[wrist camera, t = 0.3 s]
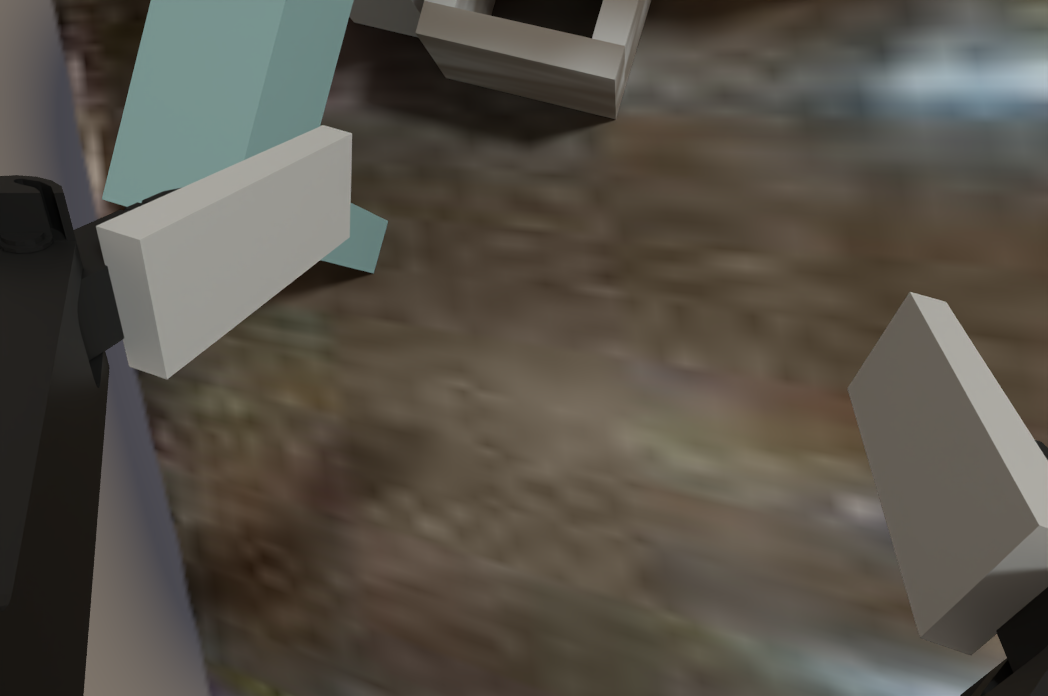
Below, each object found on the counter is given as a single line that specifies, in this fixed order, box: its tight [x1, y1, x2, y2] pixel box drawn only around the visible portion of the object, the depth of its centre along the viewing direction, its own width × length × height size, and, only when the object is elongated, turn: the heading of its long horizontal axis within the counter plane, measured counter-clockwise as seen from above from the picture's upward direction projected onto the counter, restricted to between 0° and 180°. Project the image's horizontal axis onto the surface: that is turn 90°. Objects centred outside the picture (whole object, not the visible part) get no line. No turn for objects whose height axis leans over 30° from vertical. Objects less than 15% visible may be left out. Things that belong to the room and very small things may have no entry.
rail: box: [102, 0, 424, 274], centre depth 28 cm, size 16×5×13 cm, turn 163°
